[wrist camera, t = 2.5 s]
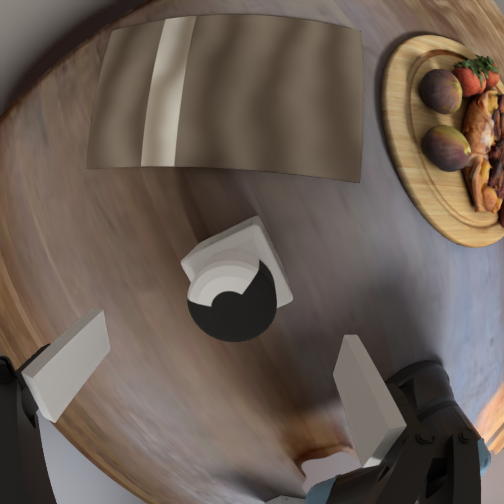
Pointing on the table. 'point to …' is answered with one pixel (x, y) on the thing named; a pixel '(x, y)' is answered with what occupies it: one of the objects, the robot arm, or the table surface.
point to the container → (236, 282)
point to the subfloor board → (231, 97)
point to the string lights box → (285, 500)
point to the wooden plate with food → (447, 136)
